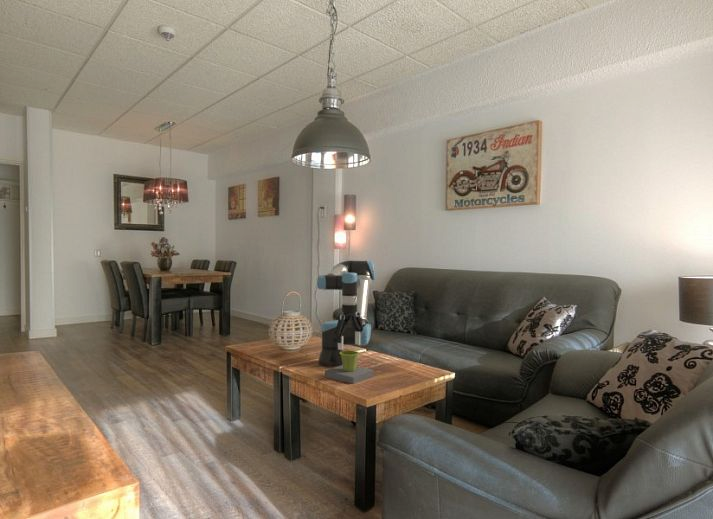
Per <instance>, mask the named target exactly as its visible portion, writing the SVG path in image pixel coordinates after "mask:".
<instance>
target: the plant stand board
mask: <svg viewBox="0 0 713 519" xmlns="http://www.w3.org/2000/svg"><path fill="white" fill-rule="evenodd" d="M324 377H325V378H329V379H332V380H337V381H340V382H344V383H349V384H357V383H359V382H362V381H364V380H368V379H370V378H372V377H374V369H371V368H365V367H362V366H357V365H356V369H355V370H354V371H350V372H348V371H344V370H343V365H341V366H334V367H331V368H329V369H325V370H324Z"/></svg>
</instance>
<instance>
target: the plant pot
mask: <svg viewBox="0 0 713 519" xmlns="http://www.w3.org/2000/svg"><path fill="white" fill-rule="evenodd" d="M340 354H341V358H342V365H343V370H344V371H348V372H350V371H354V370H355V369H356V366H357V362H358V361H357V360H358V357H359V354H360V352H359V351H355V350H343V351H342V352H340Z"/></svg>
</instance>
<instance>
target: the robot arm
mask: <svg viewBox="0 0 713 519" xmlns="http://www.w3.org/2000/svg"><path fill="white" fill-rule="evenodd" d="M375 271H376V270H375V265H374V261H372V260H345V261H341V262H339V263H337V264H335V265H334V266H333V268H332V270H331V271H329V272H328V273H327V274H321V275H319V274H318V276H317V279H316V284H317V288H318V290H323V291H326V290H330V291H332V290H333V291H334V290H336V291H341V312H342V313H343V314H339V315H338V319H333V320H329V321H326V322H323V323H322V326H321V349H320V350H321V351H320V354H319V358H318V365H320V364H321V365H320V366H323V367H338V366H341V365H342V358H341V354H340V352H342V351H344V345H345V346H366V345H368V344H369V342H370V338H371V334H372V333H371V332H372V326H371V324H370V323H369V322H370V321H369V320H368V319H367V315H368V306H369V305H368V304H369V293H370V292H369V291H370V286H371V284H372V283H373V281H375V280H376V273H375Z"/></svg>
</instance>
